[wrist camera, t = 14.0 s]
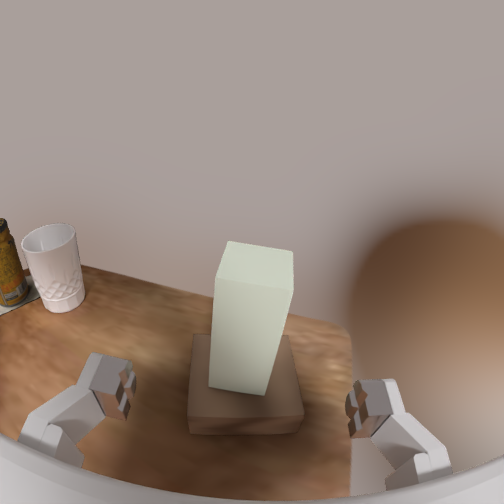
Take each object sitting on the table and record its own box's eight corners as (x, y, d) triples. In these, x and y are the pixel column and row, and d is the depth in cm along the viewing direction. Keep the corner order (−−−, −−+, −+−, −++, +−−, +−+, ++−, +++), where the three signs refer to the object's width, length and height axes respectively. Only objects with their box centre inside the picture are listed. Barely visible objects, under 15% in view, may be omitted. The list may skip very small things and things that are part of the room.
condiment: (-6, 291, 37) (-29, 224, 31) (35, 273, 43) (18, 206, 37) (-1, 316, 33) (-29, 243, 27) (46, 296, 39) (24, 222, 33)
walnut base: (190, 435, 25) (186, 416, 23) (195, 358, 34) (193, 333, 32) (296, 434, 26) (305, 414, 24) (282, 359, 35) (288, 335, 33)
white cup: (96, 283, 43) (83, 222, 38) (78, 319, 36) (59, 253, 31) (52, 280, 42) (38, 223, 37) (32, 313, 35) (10, 251, 30)
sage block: (208, 386, 26) (215, 277, 20) (218, 347, 30) (228, 240, 24) (264, 395, 26) (293, 290, 20) (267, 355, 30) (292, 251, 24)
